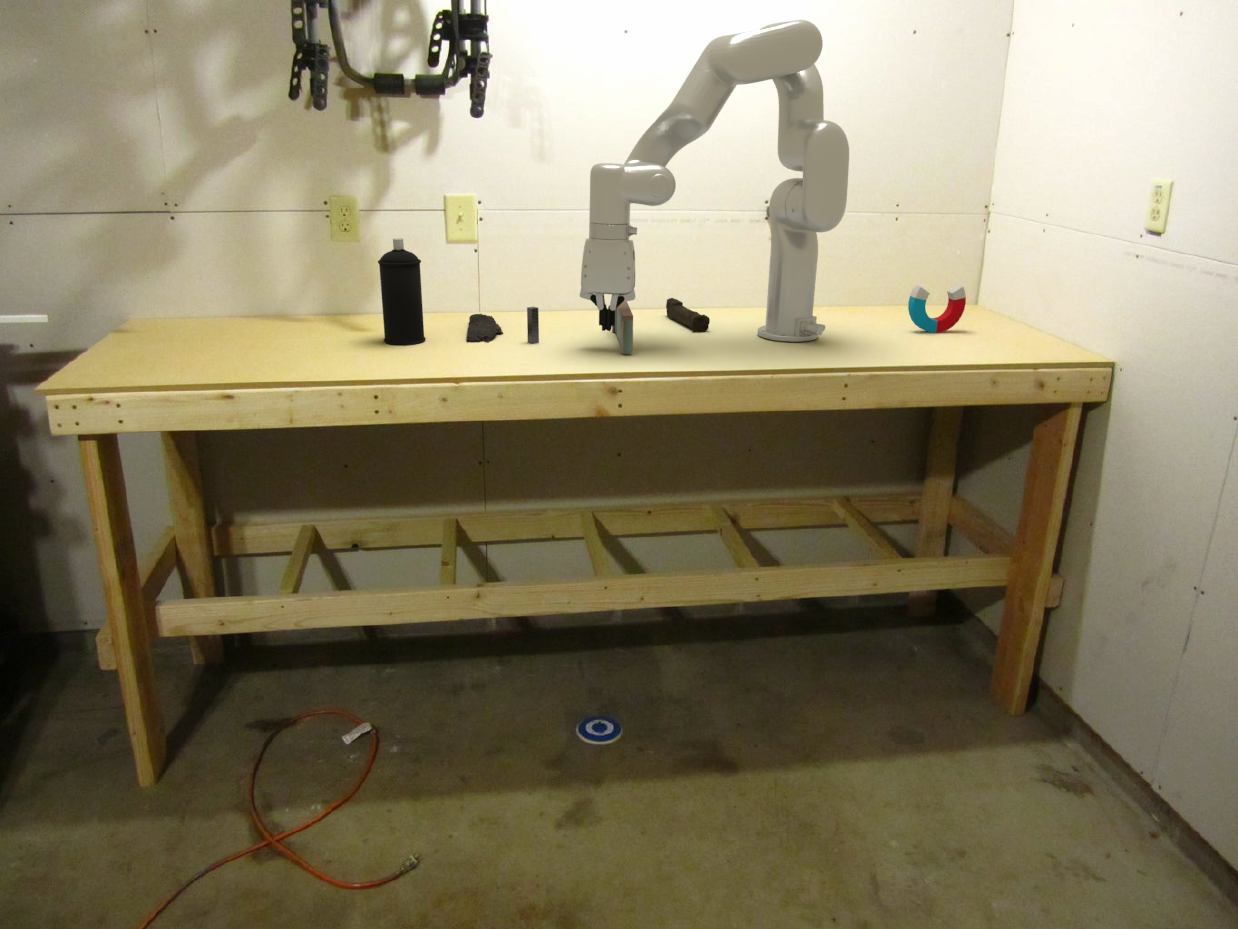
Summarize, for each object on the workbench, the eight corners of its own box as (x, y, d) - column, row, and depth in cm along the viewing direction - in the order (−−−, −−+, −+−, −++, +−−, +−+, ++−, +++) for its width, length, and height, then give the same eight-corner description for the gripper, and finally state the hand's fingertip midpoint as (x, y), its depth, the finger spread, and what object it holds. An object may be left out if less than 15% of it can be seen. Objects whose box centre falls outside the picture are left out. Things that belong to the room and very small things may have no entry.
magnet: (909, 333, 201) (915, 286, 197) (904, 330, 203) (910, 284, 200) (961, 332, 202) (968, 286, 199) (955, 330, 205) (962, 284, 201)
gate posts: (629, 332, 198) (629, 289, 195) (534, 344, 186) (533, 299, 183) (621, 329, 200) (621, 287, 197) (527, 341, 188) (526, 296, 185)
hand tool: (709, 333, 200) (711, 311, 198) (692, 334, 199) (693, 312, 197) (678, 316, 217) (679, 296, 215) (662, 317, 216) (663, 296, 214)
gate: (624, 332, 196) (625, 297, 194) (632, 353, 179) (633, 315, 176) (615, 332, 196) (615, 297, 194) (621, 353, 179) (622, 315, 176)
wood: (503, 344, 188) (503, 329, 187) (465, 344, 187) (465, 329, 186) (504, 322, 209) (503, 308, 208) (470, 322, 208) (469, 308, 207)
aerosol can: (434, 341, 188) (428, 239, 181) (399, 347, 182) (392, 242, 175) (409, 334, 193) (403, 235, 186) (375, 340, 188) (367, 238, 181)
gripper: (650, 232, 179) (646, 327, 185) (572, 229, 180) (571, 323, 186) (647, 236, 172) (643, 335, 178) (566, 233, 173) (565, 331, 179)
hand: (606, 329), depth 182 cm, fingers closed
